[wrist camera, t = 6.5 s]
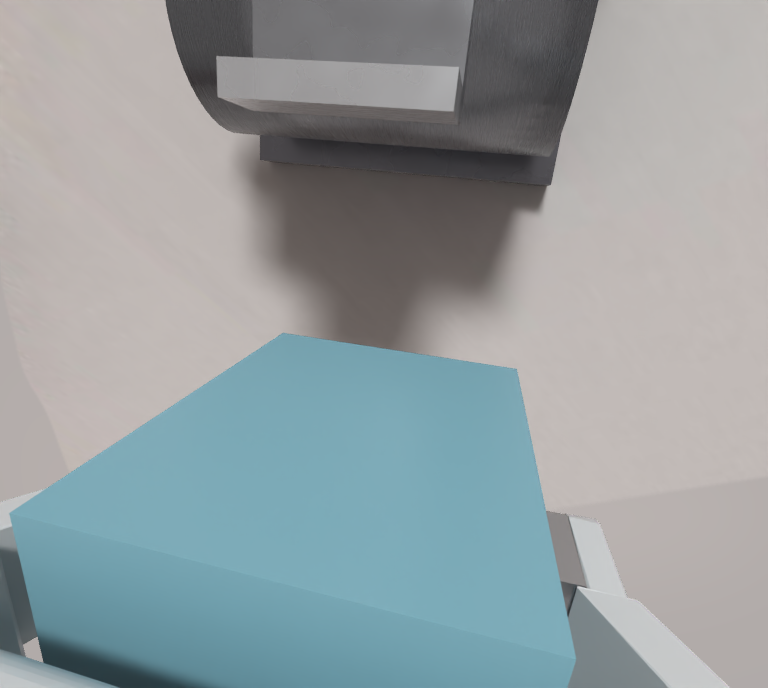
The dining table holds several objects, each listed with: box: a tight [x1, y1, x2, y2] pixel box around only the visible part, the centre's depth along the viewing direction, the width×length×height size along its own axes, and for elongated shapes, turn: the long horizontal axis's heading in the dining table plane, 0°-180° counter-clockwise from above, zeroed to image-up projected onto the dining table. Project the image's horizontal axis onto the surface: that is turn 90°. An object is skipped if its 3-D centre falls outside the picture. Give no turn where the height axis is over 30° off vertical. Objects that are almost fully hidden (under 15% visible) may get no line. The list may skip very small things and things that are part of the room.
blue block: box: [9, 333, 576, 688], centre depth 7 cm, size 5×6×6 cm
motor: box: [166, 0, 598, 186], centre depth 19 cm, size 19×13×14 cm
